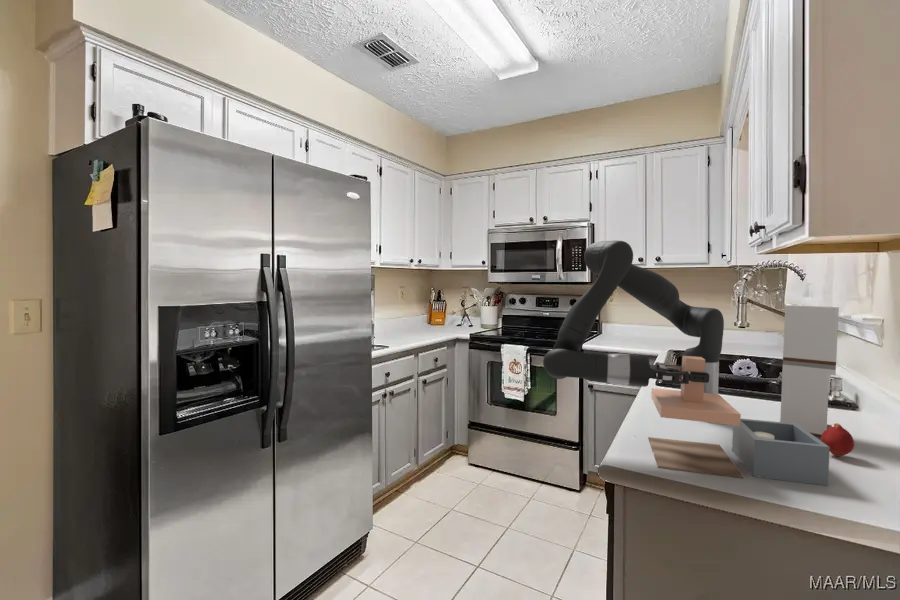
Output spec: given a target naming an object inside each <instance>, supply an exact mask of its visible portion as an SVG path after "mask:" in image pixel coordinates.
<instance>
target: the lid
mask: <svg viewBox="0 0 900 600" xmlns="http://www.w3.org/2000/svg"><path fill="white" fill-rule="evenodd" d="M681 365H682V370H685V371H687V370H688V371H692V372H705V359H703V358H702V357H695V356H684V355H682V358H681ZM680 378H682V379H683V375H681V377H680ZM650 393H651V395H650V398H651V400H652V402H653V404H654V406H655V409H656V411H657V412H658V415H659V416H660V418H664V419H672V420H673V419H675V420H684V421H691V422H692V421H693V422H703V423H711V424H721V425H731V426H733V425H737V426H740V419H742V418H741V416H742V414H741V413H740V412H739V411H738V410H737V409H736V408H734V407H733V406H732V405H731V404H730V403H729V402H728V401H727V400H726V399H724V397H722V396H721V395H720V394H719V393H718V394H710V393H704V382H691V381H690V382H689V384H680V390H674V389H665V388H664V389H662V388H653V387H652V388H651V392H650Z"/></svg>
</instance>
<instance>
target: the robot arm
mask: <svg viewBox="0 0 900 600" xmlns="http://www.w3.org/2000/svg"><path fill="white" fill-rule="evenodd" d="M583 254H584V256H583V257H584V263H585V266H586V267H587V269H588V270H589V271H590V272H591V273H593V274H594V275H596V276H598V277H597V278H596V279H595V281H594V282H593V284H592V285H591V286H590V287H589V289H587V291H585V293H584V294H583V295H581V297H580V298H578V299H577V300H576V302H574V304H573V305H572V306H571V307H570V309H569V310H568V312H567V314H566V315H565V318H564V320H563V322H562V324H561V326H560V328H559V330H558V334H557V339H556V341H555V343H554V345H553V347H552V349H551V350H548V351H547V352H546V354H544V356H543V360H542V366H543V369H544V370H545V371H546V372H547V374H548V375H549V376H550V377H552V379H556V380H563V379H566V378H578V379H584V380H586V381H591V382H600V383H610V384H614V385H622V386H630V387H631V386H634V387H643V388H645V387H648V386H649V384H650V379H652V380H656V382H658V383H659V382H660V383H662V384H674V385H675V384H678V385H679V384H680V385H681V384H689V382H690V381H691V382H704V393H710V394H719V378H720V377H719V375H720V374H719V373H720V368H719V367H720V356H721V353H722V349H723V340H724V339H723V338H724V328H725V320H724V315H723V313H722V311H721V310H720V309H718V308H714V307H702V306H701V307H699V306H694V305H693V306H692V305H689V304H687V303H685V302H683V301H682V300H681V299H680V293H679V290H678V288H677V287H676V285H675V284H674V283H672V282H671V281H670V280H668V279H667V278H665V277H664V276H663V275H661V274H659V273H658V272H654V271H652V270H651V269H648V268H644V267H641V266H638V265H635V264H633V261H634V251H633V249H632V247H631V245H630V244H629V243H628V242H627V241H624V240H601V241H596V242H593V243H592V244H590V245H588V246H587V248H586V249H585V251H584V253H583ZM617 287H619V288H620V289H622V291H624V292H626V293H627V294H628V295H630V296H631V297H632V298H634V299H636V300H637V301H638V302H639V303H642V304H643V305H645V306H646V307H648V308H649V309H650V310H652V311H654V312H656V313H657V314H658V315H660V316H662V317H663V318H665V319H666V320H667V321H669V322H670V323H671V324H673V326H674V327H676V328H677V329H678V330H679V331H680V332H682V333H683V334H684V335H687V336H689V337H694V338H699V343H698V344H697V345H696V346H693V347H689V348H686V349H685V350H684V355H683V356H695V357H702V358H703V359H705V372H692V371H688V370H687V371H685V370H682V364H675V363H665V362H659V361H657V362H655V363H654V364H650V358H649V356H648V355H644V354H643V355H642V354H632V353H631V354H629V353H601V352H600V353H599V352H583V351H581V349H582V347H583V345H584V344H585V342H586V340H587V339H588V336H589V333H590V332H591V329H592V328H593V326H594V324H595V322H596V319H597V318H598V316H599V315H600V313H601V311H602V310H603V308H604V306H605V305H606V303H607V302H608V301H609V300H610V298H611V296H612V295H613V293H614V292H615V291H616V289H617ZM681 375H683V379H682V378H681Z"/></svg>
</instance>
